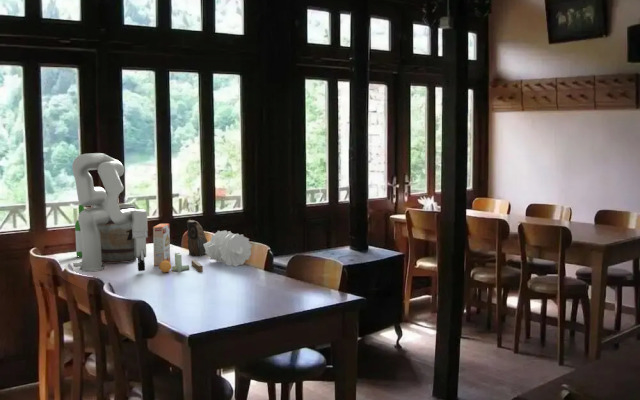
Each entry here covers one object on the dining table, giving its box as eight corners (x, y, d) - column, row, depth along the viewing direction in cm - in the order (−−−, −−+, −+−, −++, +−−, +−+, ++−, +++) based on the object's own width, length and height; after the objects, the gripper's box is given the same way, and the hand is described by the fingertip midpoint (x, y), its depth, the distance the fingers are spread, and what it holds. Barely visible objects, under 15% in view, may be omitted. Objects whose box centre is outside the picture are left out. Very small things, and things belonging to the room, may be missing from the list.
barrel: (144, 259, 380) (143, 205, 379) (110, 264, 363) (108, 207, 361) (119, 256, 394) (118, 204, 393) (85, 261, 376) (83, 206, 375)
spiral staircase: (224, 267, 380) (248, 271, 360) (197, 256, 370) (220, 261, 350) (235, 235, 384) (259, 238, 364) (209, 224, 374) (232, 227, 354)
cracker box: (165, 266, 364) (163, 226, 362) (153, 266, 364) (152, 226, 362) (171, 260, 378) (169, 223, 376) (160, 261, 378) (158, 223, 376)
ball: (172, 273, 347) (160, 275, 346) (172, 266, 352) (160, 269, 351) (170, 263, 344) (158, 266, 343) (169, 257, 349) (157, 259, 348)
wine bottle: (86, 258, 389) (83, 205, 386) (73, 257, 391) (71, 205, 388) (93, 255, 397) (91, 203, 394) (81, 255, 399) (78, 203, 395)
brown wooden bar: (198, 272, 348) (198, 266, 347) (191, 265, 364) (191, 260, 364) (202, 271, 348) (202, 265, 348) (195, 265, 365) (195, 259, 365)
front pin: (172, 267, 350) (189, 265, 353) (171, 265, 352) (188, 264, 355) (172, 271, 350) (189, 270, 354) (171, 270, 353) (188, 268, 356)
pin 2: (177, 271, 349) (177, 255, 348) (176, 270, 351) (176, 254, 350) (182, 271, 350) (181, 254, 349) (181, 270, 352) (180, 254, 351)
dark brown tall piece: (200, 257, 388) (198, 222, 386) (180, 256, 392) (179, 221, 390) (211, 253, 400) (210, 219, 398) (192, 252, 404) (190, 218, 402)
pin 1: (175, 269, 353) (175, 253, 353) (174, 269, 356) (174, 252, 355) (180, 269, 354) (179, 253, 353) (179, 268, 357) (179, 252, 356)
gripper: (130, 233, 349) (132, 268, 351) (134, 237, 335) (135, 274, 337) (145, 231, 352) (147, 267, 354) (149, 236, 338) (151, 272, 340)
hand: (141, 270), depth 346 cm, fingers closed
